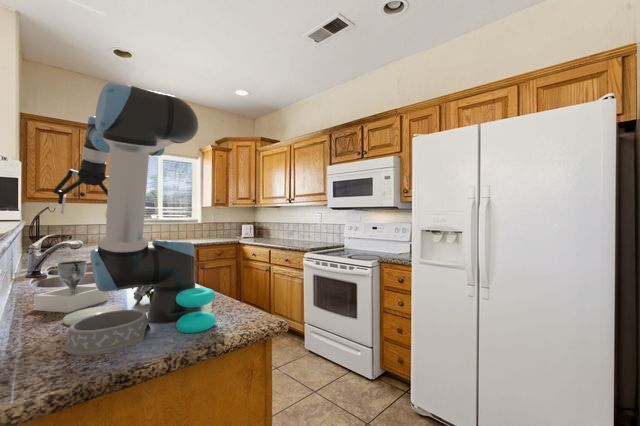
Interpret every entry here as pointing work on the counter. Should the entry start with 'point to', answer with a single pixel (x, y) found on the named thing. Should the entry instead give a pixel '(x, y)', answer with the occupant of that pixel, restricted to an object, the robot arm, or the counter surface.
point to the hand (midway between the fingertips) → (85, 214)
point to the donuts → (195, 319)
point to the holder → (69, 299)
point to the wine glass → (72, 273)
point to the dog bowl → (106, 332)
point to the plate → (88, 313)
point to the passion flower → (143, 293)
